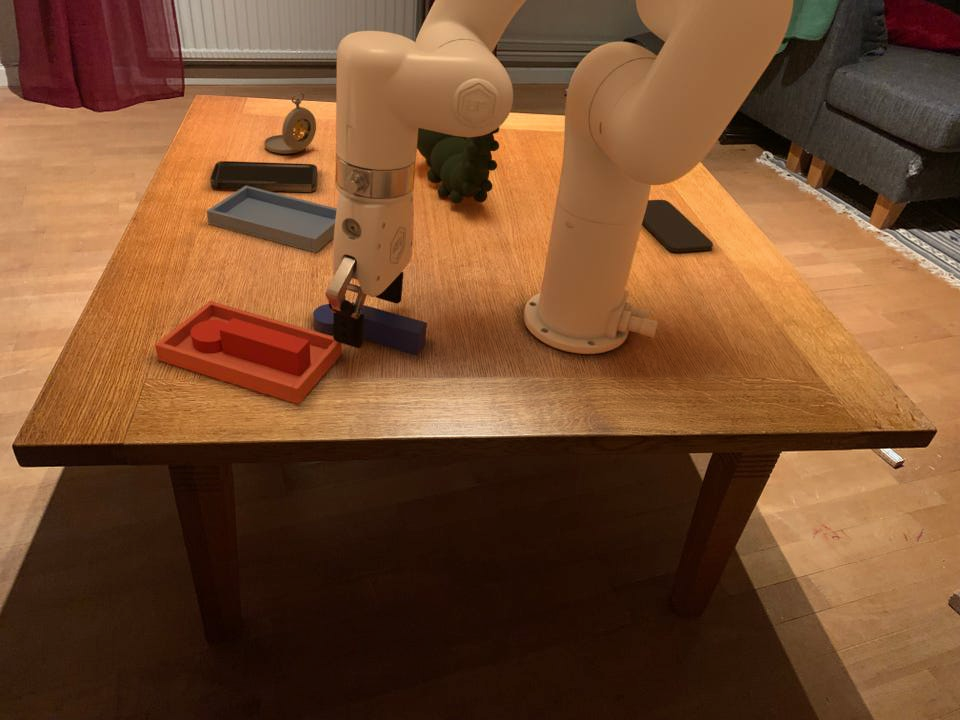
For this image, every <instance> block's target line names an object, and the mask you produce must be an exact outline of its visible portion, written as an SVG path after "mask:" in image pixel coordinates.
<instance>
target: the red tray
mask: <svg viewBox="0 0 960 720" xmlns="http://www.w3.org/2000/svg"><path fill="white" fill-rule="evenodd" d="M232 318H234V319H238V320H241V321H244V322H248V323H251V324H255V325H258V326H262V327H265V328H268V329H272V330H275V331H279V332H282V333H285V334H289V335H292V336H296V337H299V338H302V339H306V340H309V341H310V359H311V364H310V365H309V366H308V367H307V368H306V369H305V370H304V371H303V373H302V374H301V375H300V376H297V375H294V374H290V373H287V372H284V371H281V370H277V369H274V368H271V367H268V366H264V365H261V364H258V363H255V362H251V361H248V360H245V359H241V358H238V357H235V356H232V355H228V354H225V353H223V352H222V351H220V352H215V353H204V352H200V351H198V350H196V349H195V348H194V347H193V344H192V338H191V329H192V328H193V327H194V326H195V325H196V324H198V323H200V322H202V321H206V320H220V321H224V322H226V323H228V322H229V321H230V320H231V319H232ZM154 347H155V352H156V358H157V361H159V362H163V363H166V364H168V365H172V366H176V367H179V368H182V369H185V370H188V371H190V372H194V373H198V374H201V375H203V376H207V377H210V378H214V379H217V380H220V381H223V382H226V383H229V384H233V385H236V386H239V387H241V388H245V389H248V390H251V391H255V392H258V393H261V394H265V395H267V396H271V397H273V398H277V399H280V400H284V401H286V402H289V403H293V404H296V405H300V404H301V402H302V401H303V400H304V399H305V398H306V396H307V395H308V394H309V393H310V392H311V391H312V390H313V389H314V387H315V386H316V385H317V384H318V383H319V382H320V381H321V379H322V378H323V377H324V376H325V375H326V373H328V371H329V370H330V369H331V367H332V366H333V365H334V364H335V363H336V362H337V361H338V359H339V358H340V357H341V356H342V355H343V343H340V342H336V341H335V340H334V339H333V335H330V334H323V333H321V332H319V331H317V330H311V329H308V328H305V327H302V326H298V325H295V324H291V323H288V322H284V321H281V320H279V319H278V320H277V319H275V318H272V317H268V316H264V315H262V314H261V315H260V314H258V313H253V312H250V311H247V310H243V309H240V308H237V307H234V306H230V305H226V304H223V303H219V302H216V301H213V300H208V302H206V303H205V304H204V305H202V306H201V307H200V308H198V310H196V311H195V312H194V313H192V314H191V315H190V316H189V317H188V318H186V319H185V320H184V321H183V322H181V323H180V324H179V325H178V326H176V327H175V328H174V329H173V330H171V331H170V332H169V333H168V334H166V335H165V336H164V337H163V338H161V339H160V340H159V341H157V342H156V343H155V344H154Z"/></svg>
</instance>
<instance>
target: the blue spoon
mask: <svg viewBox="0 0 960 720" xmlns="http://www.w3.org/2000/svg"><path fill="white" fill-rule="evenodd" d="M351 303H352V304H353V305H354V303H355V301H352V302H351ZM361 314H363V315H364V339H363V341H365V342H368V343H373V344H376V345H378V346H379V345H380V346H383V347H386V348H389V349H393V350H396V351H400V352H404V353H406V354H411V355H413V356H418V355H419V354H420V353H421V351H422V350H423V348H424V347H425V345H426V341H427V325H428V322H427V321H424V320H420V319H416V318H412V317H409V316H405V315H402V314H398V313H395V312H391V311H386V310H383V309H380V308H377V307H372V306H368V305H365V304H364V305H363V308H362V311H361ZM312 316H313V318H312V319H313V320H312V321H313V327H314V329H315V331H316V332H319V333H323V334H326V335H329V336H333V317H334V312H332V311H331V308H329V303H325V304H322V305H319V306H318V307H316V308H315V309H314V310H313V312H312Z"/></svg>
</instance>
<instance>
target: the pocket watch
mask: <svg viewBox="0 0 960 720" xmlns="http://www.w3.org/2000/svg"><path fill="white" fill-rule="evenodd" d="M299 95H302V97H301V99H300V98H299V97H297V96H299ZM294 99H295V100H294ZM304 99H305V94H304V92H297V93H295V94H294V95H293V96H292V98H291V102H292V103H293V104H294V105H295V107H294V108H293V109H292V110H290V112H288V114H287V115H286V116H285V118H284V121H283V124H282V127H281V128H282V130H281V134H278V135H276V134H275V135H272V136H268V137H267V138H266V139H265V140H264V142H263V144H264V147H265V149H266V150H268V151H269V152H273V153H275V154H280V155H281V154H284V155H288V154H289V155H290V154H297V153H300V152H302V151H304V150H305V149H306V148H308V146H310V144H311V143H312V142H313V140H314V138H315V136H316V131H317V122H316V118H315V116H314V114H313V112H311V111H310V110H309V109H308V108H306V107H302V106H300V104H301V103H302V101H303V100H304Z"/></svg>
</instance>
